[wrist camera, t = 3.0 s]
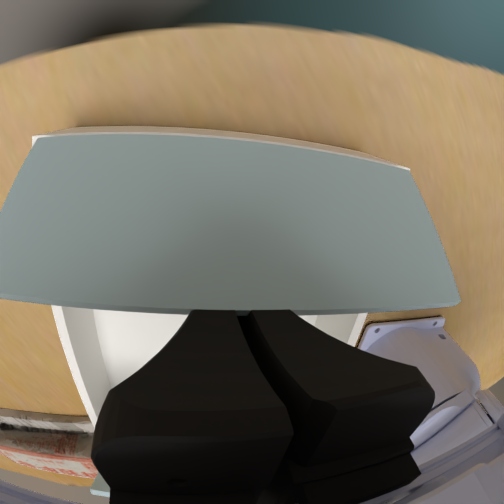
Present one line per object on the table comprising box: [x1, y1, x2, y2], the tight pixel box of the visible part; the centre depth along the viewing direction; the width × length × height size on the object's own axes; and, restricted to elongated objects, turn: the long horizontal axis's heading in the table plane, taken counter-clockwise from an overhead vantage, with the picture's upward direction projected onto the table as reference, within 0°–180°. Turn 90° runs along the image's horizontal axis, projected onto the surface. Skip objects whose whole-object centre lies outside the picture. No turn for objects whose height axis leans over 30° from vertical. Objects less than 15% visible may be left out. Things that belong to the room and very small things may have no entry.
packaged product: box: [0, 408, 98, 479], centre depth 23 cm, size 18×5×10 cm
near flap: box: [0, 134, 461, 316], centre depth 9 cm, size 15×6×1 cm
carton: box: [32, 126, 410, 429], centre depth 18 cm, size 16×21×5 cm
